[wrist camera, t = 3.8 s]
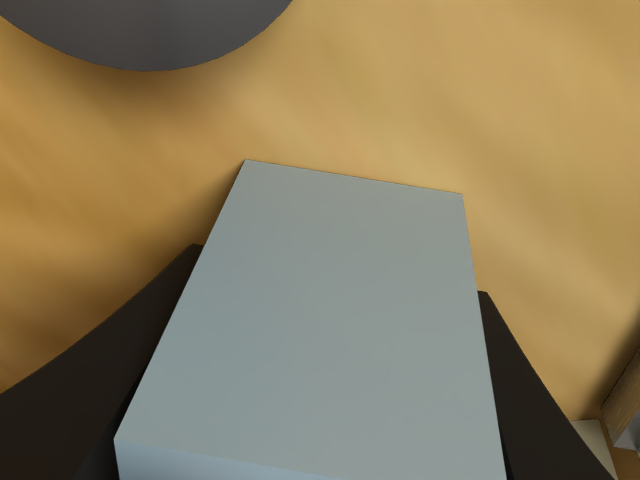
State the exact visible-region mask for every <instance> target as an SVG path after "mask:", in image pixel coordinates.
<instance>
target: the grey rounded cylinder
mask: <svg viewBox="0 0 640 480" xmlns="http://www.w3.org/2000/svg"><path fill="white" fill-rule="evenodd" d="M291 1H292V0H0V15H1V16H2V17H4V18H5V19H6V20H8V21H9V22H10V23H12V24H13V25H14V26H16V27H17V28H19V29H21V30H22V31H24V32H26V33H27V34H29V35H30V36H32V37H34V38H35V39H37V40H39V41H40V42H42V43H44V44H46V45H49V46H51V47H53V48H55V49H57V50H59V51H61V52H63V53H65V54H68V55H71V56H74V57H76V58H79V59H82V60H85V61H88V62H91V63H94V64H99V65H103V66H108V67H112V68H117V69H125V70H136V71H164V70H174V69H180V68H185V67H191V66H196V65H198V64H201V63H204V62H207V61H210V60H213V59H216V58H219V57H221V56H223V55H225V54H227V53H229V52H231V51H233V50H235V49H237V48H239V47H241V46H242V45H244V44H245V43H247V42H248V41H249V40H251V39H252V38H254V37H255V36H256V35H258V34H259V33H261V32H262V31H263V30H265V29H266V28H267V27H268V26H269V25H270V24H271V23H272V22H273V21H274V20H275V19H276V18H277V17H278V16H279V15H280V14H281V13H282V12H283V11H284V10H285V9H286V8H287V6H288V5H289V4H290V3H291Z"/></svg>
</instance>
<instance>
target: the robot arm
mask: <svg viewBox="0 0 640 480" xmlns="http://www.w3.org/2000/svg"><path fill="white" fill-rule="evenodd" d="M203 248H204V245H198V244H192V245H190V246H189V247H187V248H186V249H185V250H184V251H183V252H182V253H181V254H179V255H178V256H177V257H176V258H175V259H174V260H173V261H172V262H171V263H170V264H169V265H168V266H167V267H166V268H165V269H164V270H162V271H161V272H160V273H159V274H158V275H157V276H156V277H155V278H154V279H153V280H151V281H150V282H149V283H148V284H147V285H146V286H145V287H144V288H143V289H141V290H140V291H139V292H138V293H137V294H136V295H134V296H133V297H132V298H131V299H130V300H129V301H127V302H126V303H125V304H124V305H123V306H122V307H120V308H119V309H118V310H117V311H116V312H114V313H113V314H112V315H111V316H110V317H108V318H107V319H106V320H105V321H103V322H102V323H101V324H100V325H98V326H97V327H96V328H94V329H93V330H92V331H90V332H89V333H88V334H87V335H85V336H84V337H83V338H81V339H80V340H79V341H77V342H76V343H75V344H73V345H72V346H71V347H70V348H68V349H67V350H66V351H64V352H63V353H61V354H60V355H59V356H57V357H56V358H54V359H53V360H51V361H50V362H49V363H47V364H46V365H44V366H43V367H41V368H40V369H38V370H37V371H35V372H34V373H32V374H31V375H29V376H28V377H26V378H25V379H23V380H22V381H20V382H19V383H17V384H16V385H14V386H12V387H11V388H9V389H8V390H6V391H5V392H3V393H1V394H0V480H120V477H119V471H118V464H117V458H116V452H115V445H114V437H115V435H116V433H117V431H118V429H119V427H120V424H121V422H122V420H123V418H124V416H125V414H126V412H127V410H128V407H129V405H130V403H131V401H132V399H133V397H134V395H135V393H136V390H137V388H138V386H139V384H140V382H141V380H142V378H143V376H144V374H145V371H146V369H147V367H148V365H149V363H150V361H151V359H152V357H153V354H154V352H155V350H156V348H157V346H158V344H159V342H160V340H161V337H162V335H163V333H164V331H165V329H166V327H167V325H168V323H169V320H170V318H171V316H172V314H173V312H174V310H175V308H176V306H177V303H178V301H179V299H180V297H181V295H182V293H183V291H184V289H185V286H186V284H187V282H188V280H189V278H190V276H191V274H192V272H193V269H194V267H195V265H196V263H197V261H198V259H199V257H200V255H201V252H202V250H203ZM477 293H478V299H479V306H480V312H481V318H482V325H483V331H484V338H485V344H486V350H487V357H488V363H489V370H490V376H491V382H492V389H493V395H494V402H495V408H496V414H497V421H498V427H499V434H500V440H501V446H502V453H503V459H504V466H505V472H506V478H507V480H615V479H614V478H613V477H612V475H611V474H610V473H609V472H608V471H607V470H606V468H605V467H604V466H603V465H602V464H601V462H600V461H599V460H598V459H597V457H596V456H595V455H594V454H593V452H592V451H591V450H590V449H589V447H588V446H587V445H586V443H585V442H584V441H583V439H582V438H581V437H580V435H579V434H578V433H577V431H576V430H575V428H574V427H573V426H572V424H571V423H570V422H569V420H568V419H567V418H566V416H565V415H564V413H563V412H562V410H561V409H560V408H559V406H558V405H557V403H556V402H555V400H554V399H553V398H552V396H551V395H550V393H549V391H548V390H547V388H546V387H545V385H544V384H543V382H542V381H541V379H540V378H539V376H538V375H537V373H536V372H535V370H534V369H533V367H532V366H531V364H530V362H529V361H528V359H527V358H526V356H525V355H524V353H523V351H522V350H521V348H520V346H519V345H518V343H517V341H516V340H515V338H514V336H513V335H512V333H511V331H510V330H509V328H508V326H507V325H506V323H505V321H504V320H503V318H502V316H501V315H500V313H499V311H498V309H497V308H496V306H495V304H494V303H493V301H492V299H491V298H490V296H489V295H488V293H487V292H483V291H477Z"/></svg>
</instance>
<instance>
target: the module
mask: <svg viewBox="0 0 640 480" xmlns="http://www.w3.org/2000/svg"><path fill="white" fill-rule="evenodd" d="M114 445H115V452H116V458H117V464H118V471H119V477H120V480H507V478H506V472H505V466H504V459H503V453H502V446H501V440H500V434H499V427H498V421H497V414H496V408H495V402H494V395H493V389H492V382H491V376H490V370H489V363H488V357H487V350H486V344H485V338H484V331H483V325H482V318H481V312H480V306H479V299H478V293H477V286H476V280H475V274H474V267H473V261H472V254H471V248H470V242H469V235H468V229H467V222H466V216H465V210H464V203H463V197H462V194H458V193H452V192H446V191H440V190H433V189H427V188H421V187H415V186H408V185H402V184H396V183H390V182H383V181H377V180H371V179H365V178H359V177H352V176H346V175H340V174H334V173H327V172H321V171H315V170H309V169H302V168H296V167H290V166H284V165H277V164H271V163H265V162H259V161H252V160H246V159H245V161H244V163H243V165H242V168H241V170H240V172H239V174H238V176H237V178H236V180H235V182H234V185H233V187H232V189H231V191H230V193H229V195H228V197H227V199H226V202H225V204H224V206H223V208H222V210H221V212H220V214H219V216H218V218H217V221H216V223H215V225H214V227H213V229H212V231H211V233H210V235H209V238H208V240H207V242H206V244H205V246H204V248H203V250H202V252H201V255H200V257H199V259H198V261H197V263H196V265H195V267H194V269H193V272H192V274H191V276H190V278H189V280H188V282H187V284H186V286H185V289H184V291H183V293H182V295H181V297H180V299H179V301H178V303H177V306H176V308H175V310H174V312H173V314H172V316H171V318H170V320H169V323H168V325H167V327H166V329H165V331H164V333H163V335H162V337H161V340H160V342H159V344H158V346H157V348H156V350H155V352H154V354H153V357H152V359H151V361H150V363H149V365H148V367H147V369H146V371H145V374H144V376H143V378H142V380H141V382H140V384H139V386H138V388H137V390H136V393H135V395H134V397H133V399H132V401H131V403H130V405H129V407H128V410H127V412H126V414H125V416H124V418H123V420H122V422H121V424H120V427H119V429H118V431H117V433H116V435H115V437H114Z"/></svg>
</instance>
